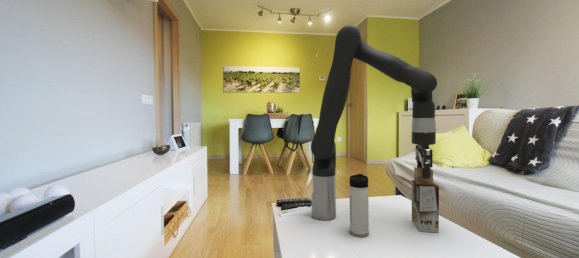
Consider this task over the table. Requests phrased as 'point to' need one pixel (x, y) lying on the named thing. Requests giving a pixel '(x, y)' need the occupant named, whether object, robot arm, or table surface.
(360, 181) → the travel mug
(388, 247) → the table surface
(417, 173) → the walnut block
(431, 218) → the coffee box
